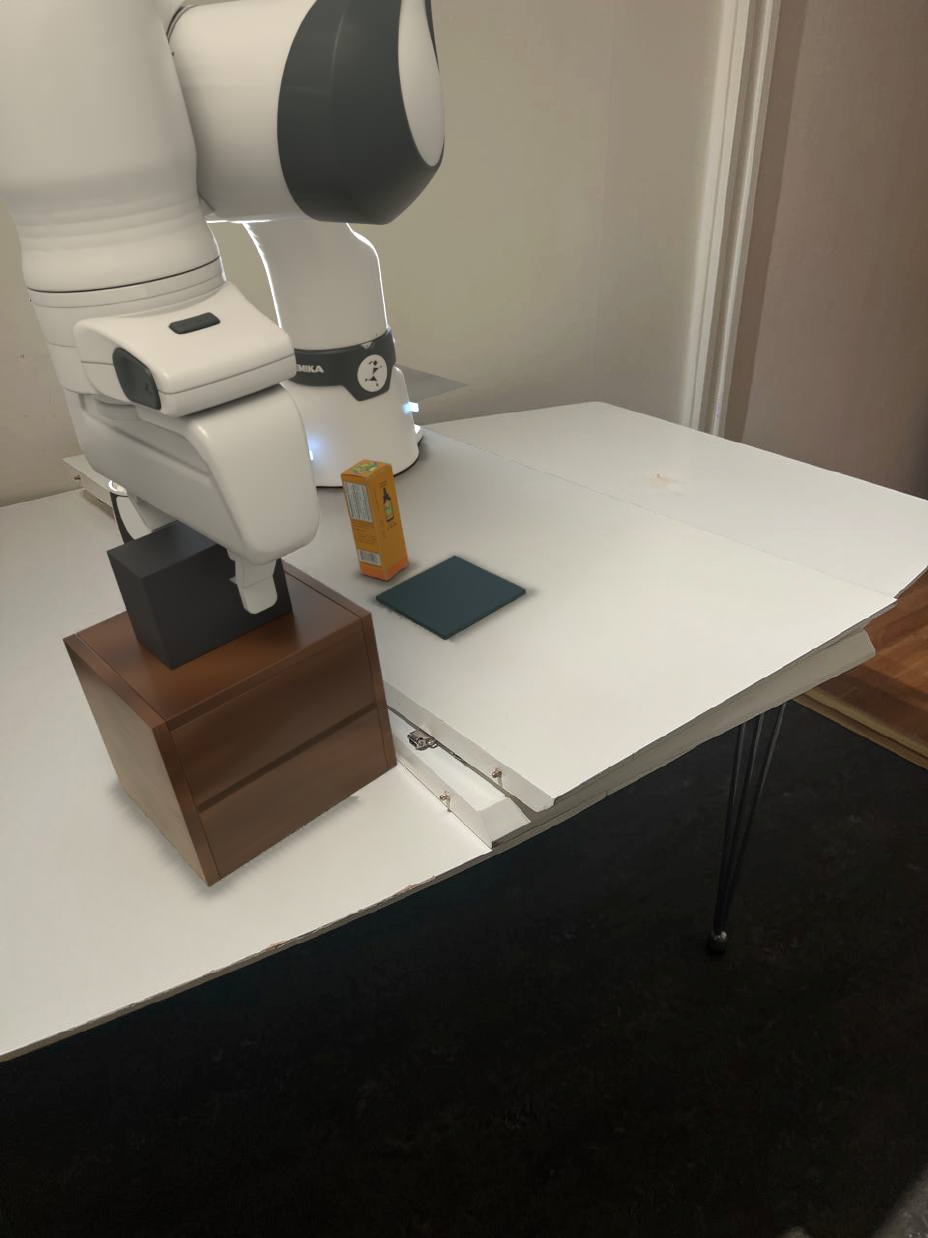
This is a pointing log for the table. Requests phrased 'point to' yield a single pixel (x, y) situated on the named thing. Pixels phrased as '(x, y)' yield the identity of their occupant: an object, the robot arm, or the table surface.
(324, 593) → the wooden drawer unit
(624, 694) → the table surface
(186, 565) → the dark gray rectangular box
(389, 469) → the supplement box
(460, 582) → the pad
